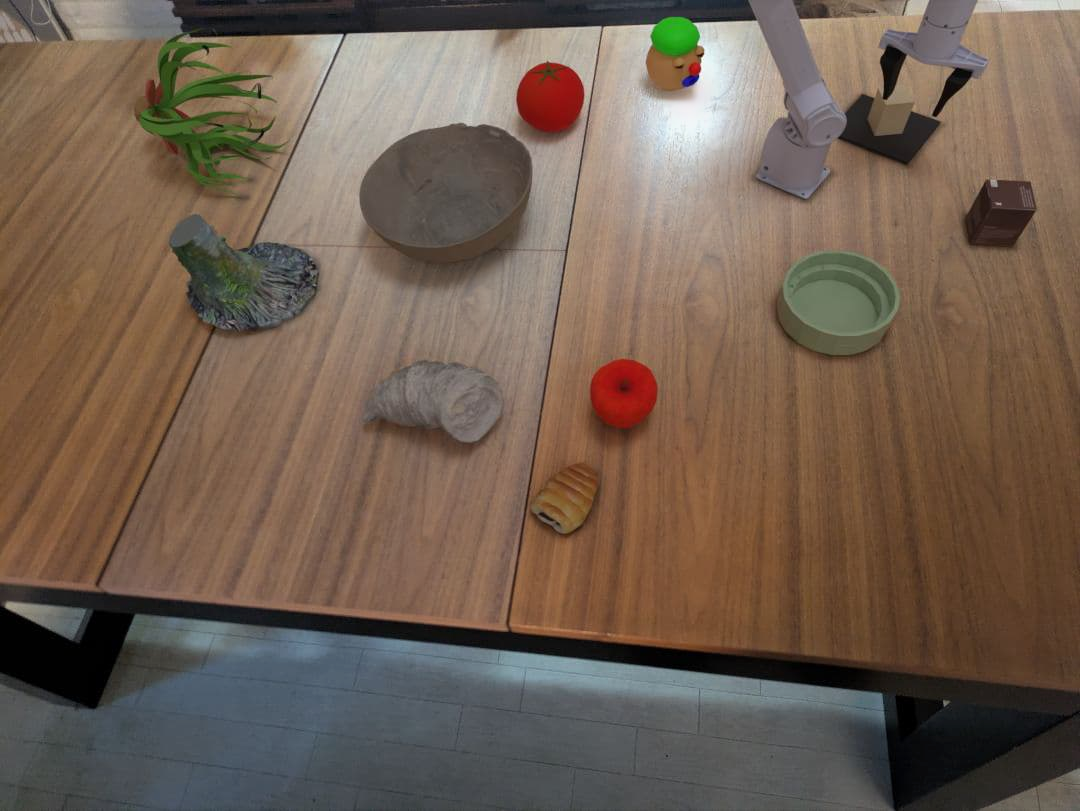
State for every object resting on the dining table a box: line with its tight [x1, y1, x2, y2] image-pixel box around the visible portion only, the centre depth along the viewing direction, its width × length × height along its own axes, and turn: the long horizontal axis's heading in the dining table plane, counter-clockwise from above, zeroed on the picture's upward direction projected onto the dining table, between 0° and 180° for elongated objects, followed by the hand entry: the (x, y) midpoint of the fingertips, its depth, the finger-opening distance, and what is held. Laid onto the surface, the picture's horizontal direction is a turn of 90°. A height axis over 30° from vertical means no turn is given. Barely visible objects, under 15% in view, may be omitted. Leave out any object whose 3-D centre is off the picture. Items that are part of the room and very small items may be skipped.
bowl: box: [358, 122, 534, 264], centre depth 114 cm, size 28×28×10 cm
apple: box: [589, 358, 659, 429], centre depth 93 cm, size 9×9×8 cm
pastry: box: [530, 462, 599, 535], centre depth 89 cm, size 9×7×4 cm
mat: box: [837, 93, 941, 166], centre depth 119 cm, size 14×12×1 cm
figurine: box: [645, 16, 706, 92], centre depth 126 cm, size 11×10×12 cm
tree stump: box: [168, 213, 320, 332], centre depth 109 cm, size 18×20×18 cm
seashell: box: [361, 359, 505, 444], centre depth 94 cm, size 16×15×10 cm
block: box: [868, 84, 915, 136], centre depth 117 cm, size 4×4×6 cm
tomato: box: [515, 59, 585, 133], centre depth 125 cm, size 11×12×10 cm
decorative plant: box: [133, 28, 290, 197], centre depth 125 cm, size 26×25×30 cm
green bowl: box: [776, 249, 901, 356], centre depth 99 cm, size 15×15×5 cm
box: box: [965, 179, 1038, 247], centre depth 103 cm, size 6×6×7 cm
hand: (911, 104), depth 107 cm, fingers open, 7 cm apart
